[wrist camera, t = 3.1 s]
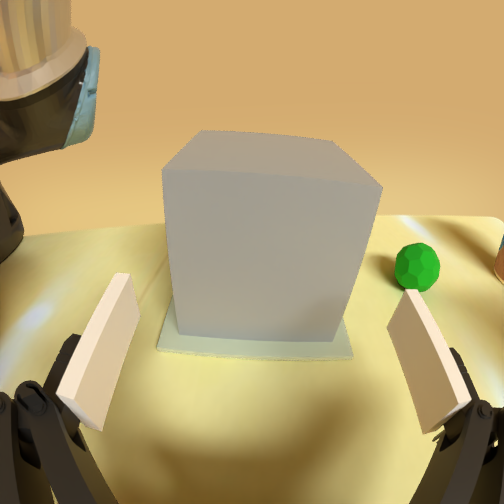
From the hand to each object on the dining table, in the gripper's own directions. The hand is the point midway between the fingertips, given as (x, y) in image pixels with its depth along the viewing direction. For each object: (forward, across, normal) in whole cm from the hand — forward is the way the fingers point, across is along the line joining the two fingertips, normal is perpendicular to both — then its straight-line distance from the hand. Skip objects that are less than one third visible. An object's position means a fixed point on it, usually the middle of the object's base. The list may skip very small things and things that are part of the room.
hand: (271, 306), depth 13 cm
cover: (+9, 0, -7) cm, 12 cm away
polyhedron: (+11, +16, -8) cm, 21 cm away
